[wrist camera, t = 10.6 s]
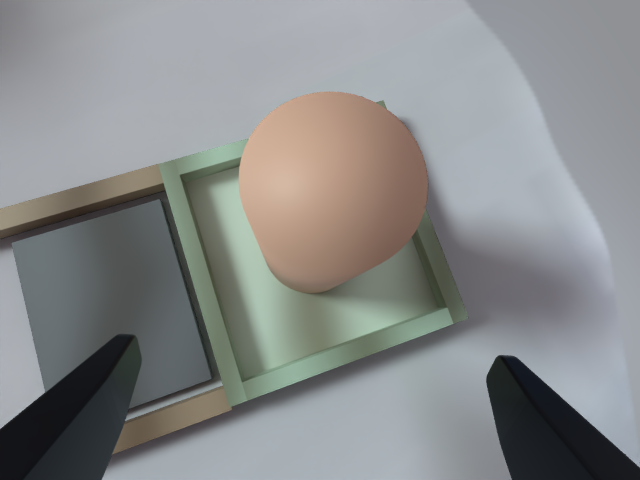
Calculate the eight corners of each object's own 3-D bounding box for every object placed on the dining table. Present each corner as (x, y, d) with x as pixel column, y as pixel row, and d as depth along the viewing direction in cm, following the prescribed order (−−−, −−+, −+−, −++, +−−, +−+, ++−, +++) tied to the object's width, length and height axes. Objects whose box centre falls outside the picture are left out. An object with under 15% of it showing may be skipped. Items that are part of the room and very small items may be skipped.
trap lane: (-369, 629, 15) (-433, 660, 14) (-390, 329, 17) (-450, 331, 16) (457, 321, 20) (470, 322, 19) (376, 110, 22) (382, 96, 20)
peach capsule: (306, 313, 19) (327, 316, 9) (242, 239, 20) (198, 167, 10) (378, 249, 20) (465, 190, 10) (315, 180, 20) (342, 58, 11)
